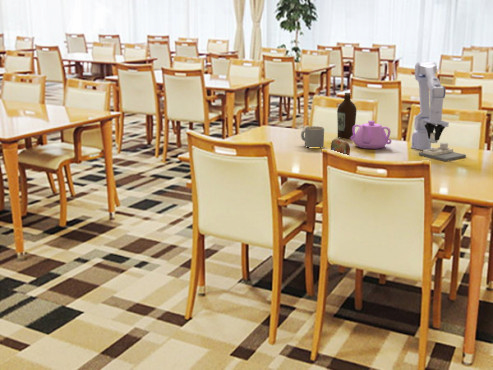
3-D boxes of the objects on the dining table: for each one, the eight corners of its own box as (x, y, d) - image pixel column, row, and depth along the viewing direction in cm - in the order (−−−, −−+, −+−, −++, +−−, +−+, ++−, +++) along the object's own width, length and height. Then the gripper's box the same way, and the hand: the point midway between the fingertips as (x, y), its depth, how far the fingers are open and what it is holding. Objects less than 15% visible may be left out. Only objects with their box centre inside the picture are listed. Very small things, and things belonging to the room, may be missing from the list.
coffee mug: (327, 147, 320) (328, 128, 318) (313, 149, 315) (313, 130, 312) (310, 143, 331) (311, 124, 328) (296, 145, 326) (296, 126, 323)
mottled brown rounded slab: (330, 154, 304) (330, 137, 302) (335, 153, 305) (336, 137, 303) (345, 160, 290) (345, 143, 288) (350, 160, 292) (351, 143, 289)
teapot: (342, 149, 314) (342, 123, 310) (355, 142, 333) (356, 116, 329) (384, 153, 304) (385, 126, 300) (395, 145, 323) (396, 119, 319)
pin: (428, 142, 297) (428, 133, 296) (433, 141, 299) (433, 132, 298) (433, 143, 294) (434, 134, 293) (438, 142, 296) (439, 133, 295)
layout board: (418, 155, 300) (419, 144, 299) (439, 151, 308) (440, 141, 307) (445, 161, 288) (446, 150, 286) (466, 157, 296) (467, 146, 294)
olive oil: (347, 134, 353) (349, 91, 346) (359, 137, 344) (361, 93, 337) (332, 136, 348) (334, 92, 341) (344, 139, 339) (345, 94, 332)
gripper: (418, 110, 296) (416, 137, 300) (442, 114, 285) (440, 142, 288) (428, 109, 300) (426, 136, 304) (452, 112, 288) (450, 141, 292)
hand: (433, 139), depth 296 cm, fingers closed on pin, 4 cm apart
